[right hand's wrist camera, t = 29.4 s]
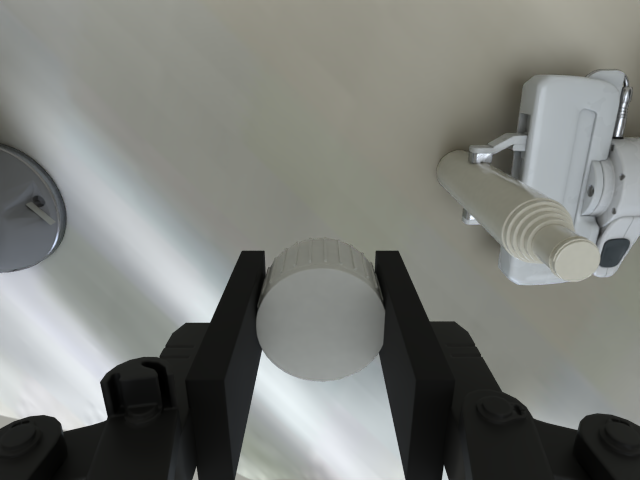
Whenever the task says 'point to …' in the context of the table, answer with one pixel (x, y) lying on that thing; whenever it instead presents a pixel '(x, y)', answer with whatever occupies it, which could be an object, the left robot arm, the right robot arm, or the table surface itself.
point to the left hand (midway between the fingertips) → (466, 185)
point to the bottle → (519, 217)
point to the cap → (321, 311)
